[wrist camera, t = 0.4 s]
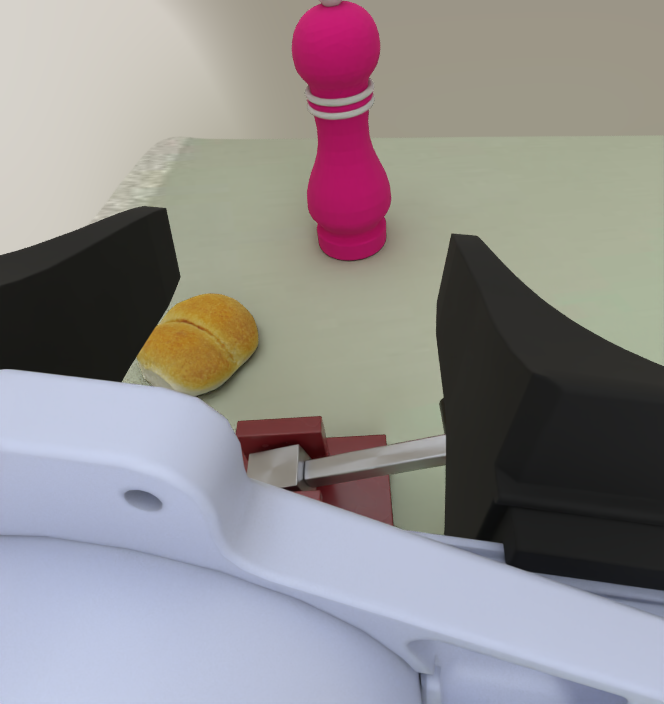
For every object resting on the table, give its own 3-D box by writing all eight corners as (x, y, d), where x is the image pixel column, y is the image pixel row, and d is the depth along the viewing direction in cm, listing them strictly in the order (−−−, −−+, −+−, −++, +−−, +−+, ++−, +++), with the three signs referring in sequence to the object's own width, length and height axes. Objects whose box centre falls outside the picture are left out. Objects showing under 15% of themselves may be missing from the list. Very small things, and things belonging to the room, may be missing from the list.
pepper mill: (316, 219, 47) (279, -35, 32) (390, 215, 47) (387, -48, 31) (311, 266, 43) (263, -4, 28) (392, 263, 42) (389, -18, 27)
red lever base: (386, 443, 31) (383, 379, 26) (399, 597, 25) (399, 555, 20) (218, 452, 32) (182, 392, 26) (192, 603, 26) (141, 564, 21)
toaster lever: (467, 411, 24) (459, 385, 23) (489, 507, 21) (481, 485, 19) (271, 450, 27) (251, 429, 26) (264, 540, 24) (240, 523, 22)
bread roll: (279, 333, 38) (269, 296, 35) (202, 417, 34) (183, 383, 30) (204, 300, 41) (189, 264, 38) (125, 372, 37) (101, 337, 34)
